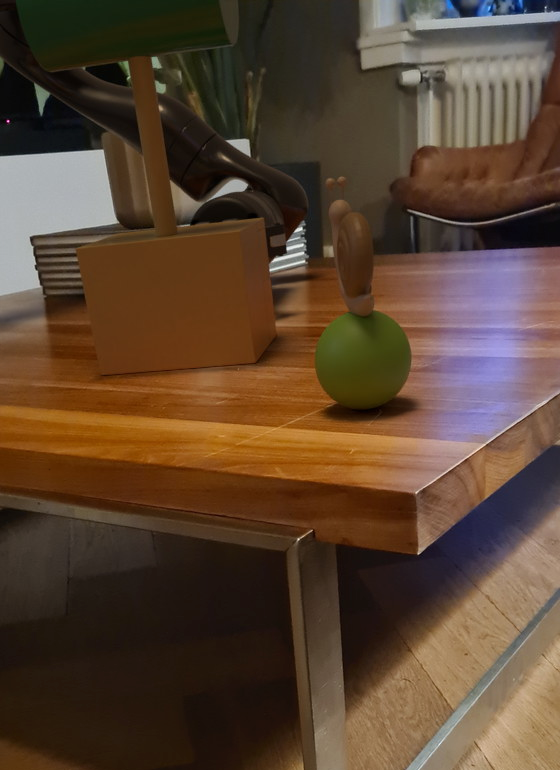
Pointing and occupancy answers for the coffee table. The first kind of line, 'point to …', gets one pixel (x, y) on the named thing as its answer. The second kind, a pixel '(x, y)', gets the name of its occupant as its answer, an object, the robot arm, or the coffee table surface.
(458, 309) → the coffee table surface
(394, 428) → the coffee table surface
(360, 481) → the coffee table surface
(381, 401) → the snail figurine
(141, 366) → the lamp
